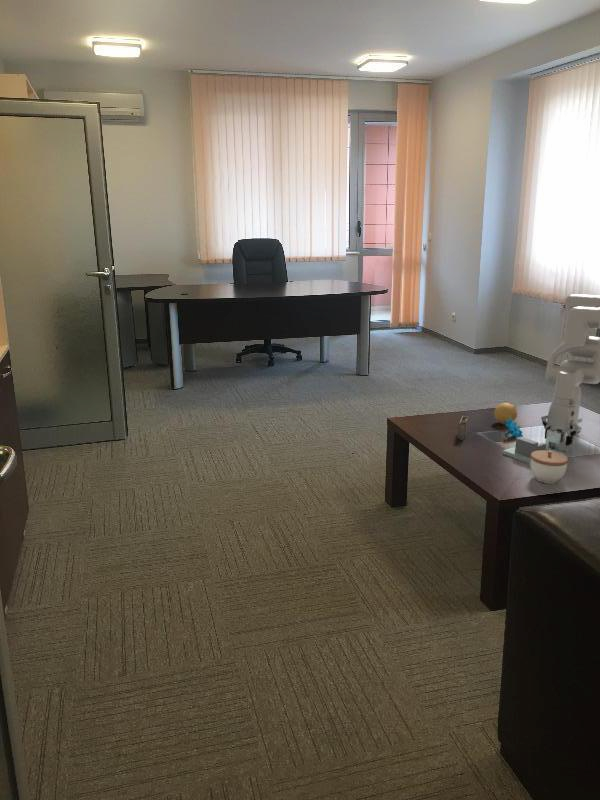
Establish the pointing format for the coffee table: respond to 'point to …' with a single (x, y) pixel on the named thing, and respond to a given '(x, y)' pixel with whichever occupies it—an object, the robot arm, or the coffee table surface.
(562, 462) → the lidded bowl
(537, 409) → the coffee table surface
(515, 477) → the coffee table surface
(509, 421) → the gear
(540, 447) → the plate with grey stand
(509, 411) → the stress ball
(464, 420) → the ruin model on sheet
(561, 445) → the grey box with knob
